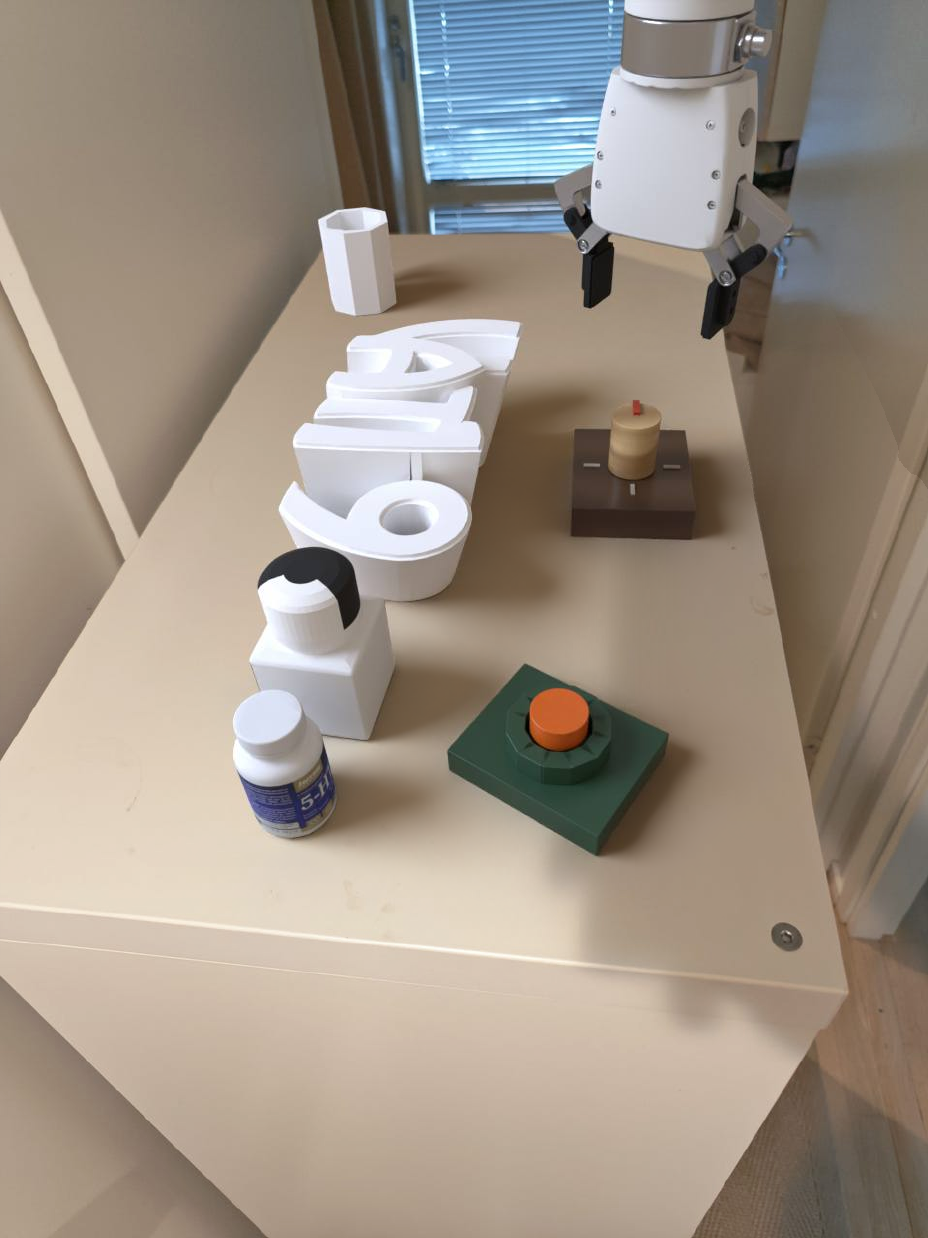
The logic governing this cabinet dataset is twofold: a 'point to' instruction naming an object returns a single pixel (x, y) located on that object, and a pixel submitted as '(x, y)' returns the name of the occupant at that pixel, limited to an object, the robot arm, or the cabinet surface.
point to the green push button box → (559, 761)
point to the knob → (634, 440)
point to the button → (559, 719)
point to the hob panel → (631, 491)
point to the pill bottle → (283, 764)
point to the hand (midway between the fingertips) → (653, 315)
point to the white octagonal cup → (358, 260)
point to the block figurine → (324, 641)
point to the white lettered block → (402, 452)
